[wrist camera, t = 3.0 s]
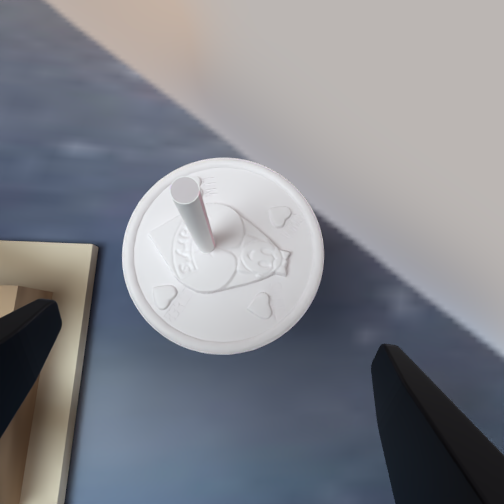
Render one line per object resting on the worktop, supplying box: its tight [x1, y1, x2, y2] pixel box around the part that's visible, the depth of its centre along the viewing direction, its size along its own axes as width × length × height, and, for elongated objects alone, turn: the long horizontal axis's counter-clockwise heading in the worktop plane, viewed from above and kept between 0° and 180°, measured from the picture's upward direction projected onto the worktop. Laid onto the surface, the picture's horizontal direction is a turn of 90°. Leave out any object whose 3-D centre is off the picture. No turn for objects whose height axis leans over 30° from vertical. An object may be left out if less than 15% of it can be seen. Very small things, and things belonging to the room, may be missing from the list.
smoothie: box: [122, 158, 324, 355], centre depth 13 cm, size 6×6×14 cm
